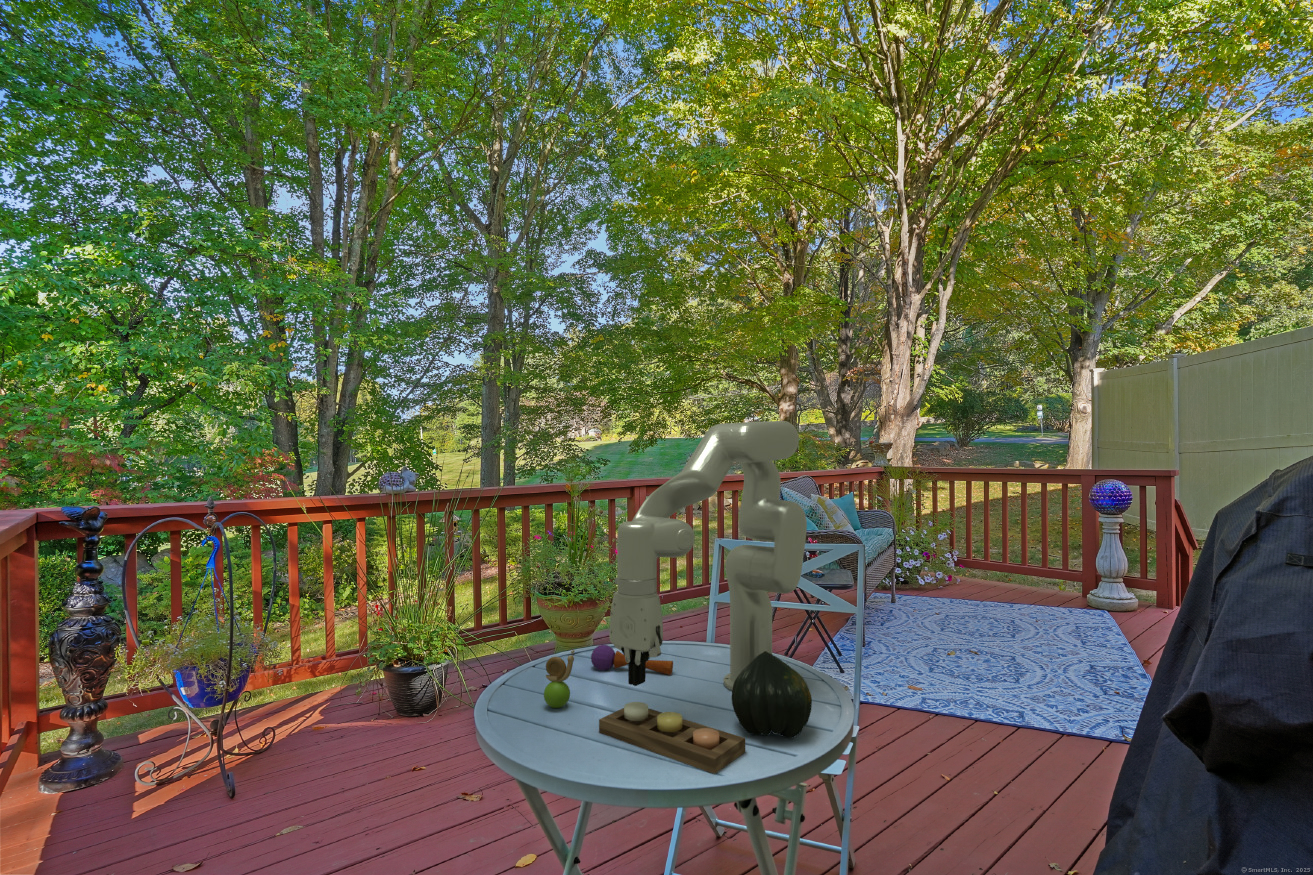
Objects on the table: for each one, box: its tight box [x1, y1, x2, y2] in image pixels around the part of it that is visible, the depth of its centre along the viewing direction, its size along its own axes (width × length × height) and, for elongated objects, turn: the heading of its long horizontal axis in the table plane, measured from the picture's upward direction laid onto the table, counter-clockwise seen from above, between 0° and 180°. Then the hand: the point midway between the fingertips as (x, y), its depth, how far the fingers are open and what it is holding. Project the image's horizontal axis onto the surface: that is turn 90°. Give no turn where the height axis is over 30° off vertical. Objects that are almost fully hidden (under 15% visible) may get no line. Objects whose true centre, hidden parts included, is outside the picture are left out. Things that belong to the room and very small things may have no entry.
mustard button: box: [657, 711, 683, 732], centre depth 121 cm, size 5×5×2 cm
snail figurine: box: [543, 649, 575, 709], centre depth 138 cm, size 5×6×12 cm
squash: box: [731, 651, 813, 739], centre depth 127 cm, size 14×15×15 cm
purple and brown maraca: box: [590, 644, 674, 676], centre depth 160 cm, size 6×6×20 cm
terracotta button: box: [693, 728, 719, 750], centre depth 116 cm, size 5×5×2 cm
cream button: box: [623, 701, 649, 721], centre depth 126 cm, size 5×5×2 cm
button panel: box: [598, 707, 746, 775], centre depth 121 cm, size 10×26×2 cm, turn 52°
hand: (636, 682), depth 126 cm, fingers closed
